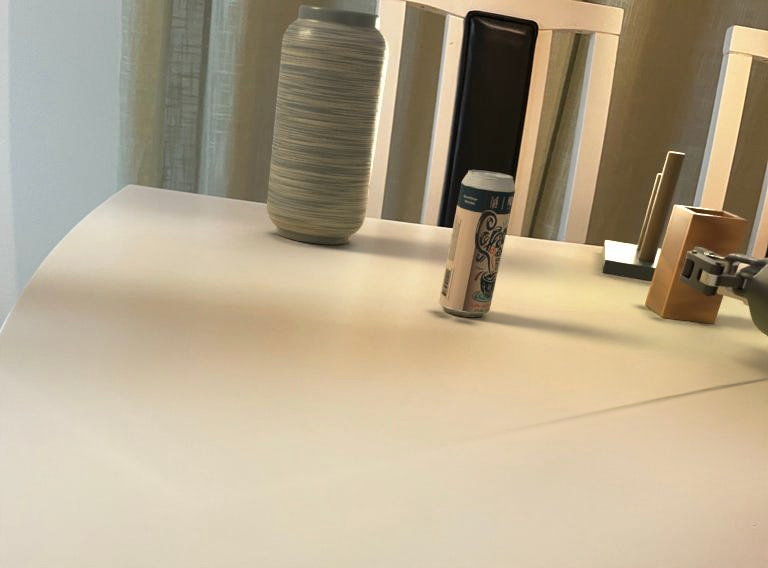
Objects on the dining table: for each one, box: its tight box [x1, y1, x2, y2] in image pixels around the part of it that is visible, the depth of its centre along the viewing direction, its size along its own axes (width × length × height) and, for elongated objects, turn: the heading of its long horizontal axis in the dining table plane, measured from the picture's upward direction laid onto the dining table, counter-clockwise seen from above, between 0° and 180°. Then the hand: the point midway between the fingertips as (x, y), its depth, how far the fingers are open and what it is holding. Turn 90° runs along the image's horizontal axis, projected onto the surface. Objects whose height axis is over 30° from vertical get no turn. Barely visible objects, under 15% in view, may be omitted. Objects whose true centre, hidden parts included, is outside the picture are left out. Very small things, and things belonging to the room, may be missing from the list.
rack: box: [601, 151, 687, 282], centre depth 123 cm, size 10×16×14 cm, turn 165°
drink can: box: [438, 169, 516, 318], centre depth 92 cm, size 5×5×12 cm
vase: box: [266, 4, 390, 246], centre depth 113 cm, size 12×12×23 cm
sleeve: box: [644, 204, 749, 325], centre depth 103 cm, size 6×6×10 cm
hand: (738, 263), depth 94 cm, fingers open, 8 cm apart
